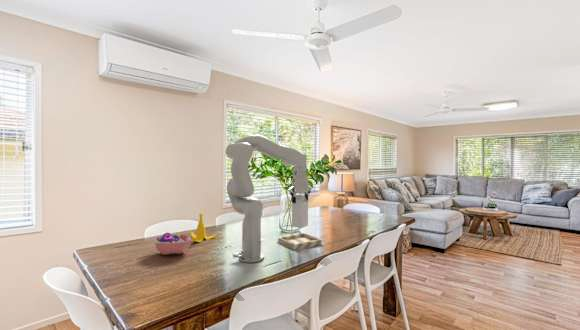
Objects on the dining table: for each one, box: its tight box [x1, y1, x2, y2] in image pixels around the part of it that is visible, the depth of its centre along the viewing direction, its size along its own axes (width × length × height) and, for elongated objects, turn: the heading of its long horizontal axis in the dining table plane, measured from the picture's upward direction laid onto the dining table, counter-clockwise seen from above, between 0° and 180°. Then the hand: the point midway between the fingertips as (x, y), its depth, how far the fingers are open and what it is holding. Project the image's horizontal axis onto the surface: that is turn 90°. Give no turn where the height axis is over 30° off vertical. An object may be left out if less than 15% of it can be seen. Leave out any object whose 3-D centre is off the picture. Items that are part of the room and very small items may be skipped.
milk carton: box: [291, 194, 309, 229], centre depth 170 cm, size 7×7×19 cm
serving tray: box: [277, 232, 323, 251], centre depth 171 cm, size 20×18×3 cm
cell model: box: [153, 232, 193, 256], centre depth 151 cm, size 17×20×11 cm
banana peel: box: [189, 213, 219, 243], centre depth 179 cm, size 16×19×17 cm
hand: (300, 202), depth 170 cm, fingers closed on milk carton, 8 cm apart
